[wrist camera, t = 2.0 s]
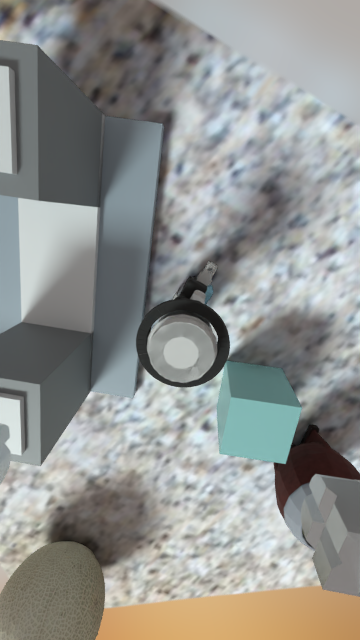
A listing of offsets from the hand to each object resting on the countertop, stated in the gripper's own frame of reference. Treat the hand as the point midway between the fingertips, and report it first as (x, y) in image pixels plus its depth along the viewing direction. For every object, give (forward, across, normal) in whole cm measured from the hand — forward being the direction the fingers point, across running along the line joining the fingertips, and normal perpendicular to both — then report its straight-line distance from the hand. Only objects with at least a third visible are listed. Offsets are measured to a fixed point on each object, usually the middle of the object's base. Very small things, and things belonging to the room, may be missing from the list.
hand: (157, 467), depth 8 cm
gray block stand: (+19, +10, -1) cm, 21 cm away
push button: (+19, -1, 0) cm, 19 cm away
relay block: (+12, -7, +8) cm, 16 cm away
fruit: (+19, +8, +33) cm, 39 cm away
